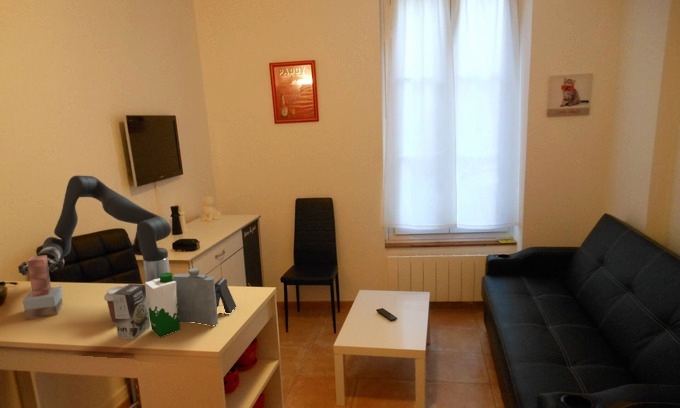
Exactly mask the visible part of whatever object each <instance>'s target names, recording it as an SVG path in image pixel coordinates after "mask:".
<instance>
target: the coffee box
mask: <svg viewBox="0 0 680 408" xmlns="http://www.w3.org/2000/svg"><path fill="white" fill-rule="evenodd" d="M124 286H125V287H124V288H122V289H120V290H118V291H117V292H115V293H113V302H114V310H115V318H116V324H115V326H116V331H117V332H116V333H117V338H118V339H125V340H133V341H134V340H135V339H137V338H138V337H139V336H141V335H142V334H143V333H145V330H146V329H147V330H149V329H150V328H149V327H151V323H150V318H149V310H148V302H147V294H146V286H145V284H142V283H141V284H140V283H139V284H138V283H129V284H126V285H124ZM147 330H146V331H147Z"/></svg>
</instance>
